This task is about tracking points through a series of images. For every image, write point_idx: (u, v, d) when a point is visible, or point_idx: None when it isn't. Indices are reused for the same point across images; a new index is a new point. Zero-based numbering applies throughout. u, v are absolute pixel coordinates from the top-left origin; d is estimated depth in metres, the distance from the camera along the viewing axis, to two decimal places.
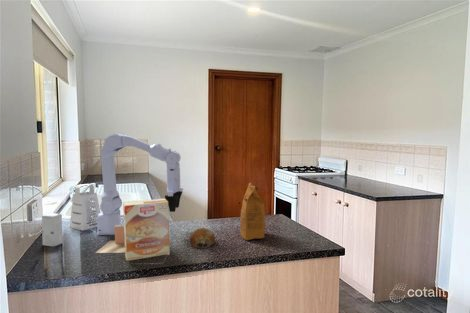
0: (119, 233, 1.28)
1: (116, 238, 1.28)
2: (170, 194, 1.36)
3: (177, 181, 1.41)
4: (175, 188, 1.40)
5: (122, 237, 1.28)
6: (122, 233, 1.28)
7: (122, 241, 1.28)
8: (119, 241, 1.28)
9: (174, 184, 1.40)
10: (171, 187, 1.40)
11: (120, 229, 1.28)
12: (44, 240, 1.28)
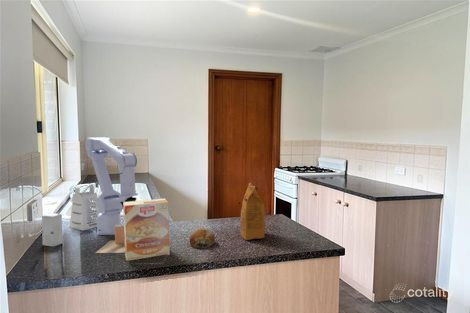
0: (119, 233, 1.28)
1: (116, 238, 1.28)
2: (121, 200, 1.26)
3: (131, 185, 1.31)
4: (128, 193, 1.31)
5: (122, 237, 1.28)
6: (122, 233, 1.28)
7: (122, 241, 1.28)
8: (119, 241, 1.28)
9: (127, 189, 1.31)
10: (124, 192, 1.31)
11: (120, 229, 1.28)
12: (44, 240, 1.28)
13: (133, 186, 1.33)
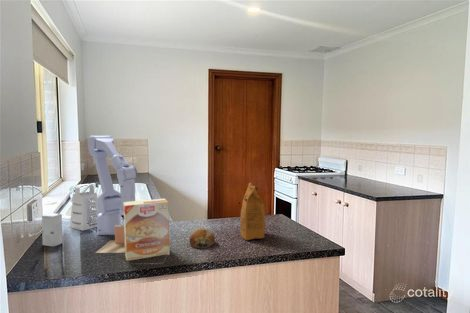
0: (119, 233, 1.28)
1: (116, 238, 1.28)
2: (122, 213, 1.27)
3: (131, 198, 1.32)
4: None
5: (122, 237, 1.28)
6: (122, 233, 1.28)
7: (122, 241, 1.28)
8: (119, 241, 1.28)
9: None
10: None
11: (120, 229, 1.28)
12: (44, 240, 1.28)
13: (133, 199, 1.33)
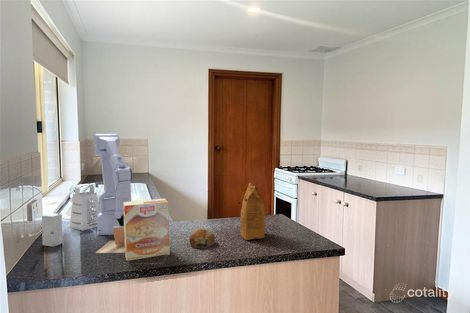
0: (118, 234, 1.27)
1: (116, 239, 1.28)
2: (117, 216, 1.22)
3: (127, 201, 1.27)
4: None
5: (122, 238, 1.27)
6: (121, 234, 1.27)
7: (122, 241, 1.28)
8: (119, 241, 1.28)
9: None
10: (120, 208, 1.26)
11: (119, 230, 1.27)
12: (44, 240, 1.28)
13: (129, 201, 1.28)
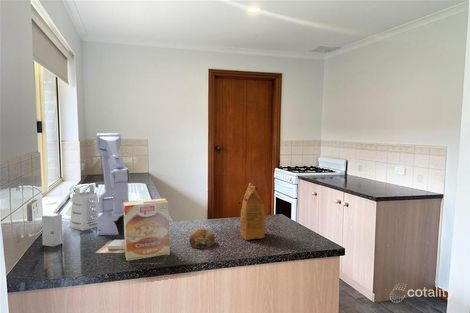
0: None
1: None
2: (114, 218, 1.19)
3: None
4: (121, 211, 1.23)
5: None
6: None
7: None
8: None
9: (120, 206, 1.23)
10: (117, 209, 1.23)
11: None
12: (44, 240, 1.28)
13: None
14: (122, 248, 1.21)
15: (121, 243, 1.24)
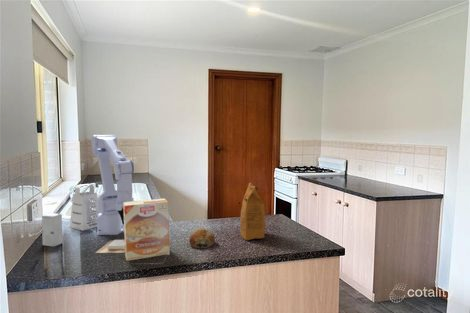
0: None
1: None
2: (118, 208, 1.23)
3: (128, 193, 1.28)
4: (125, 201, 1.28)
5: None
6: None
7: None
8: None
9: (124, 197, 1.28)
10: (121, 200, 1.27)
11: None
12: (44, 240, 1.28)
13: (130, 194, 1.29)
14: (122, 248, 1.21)
15: (121, 243, 1.24)
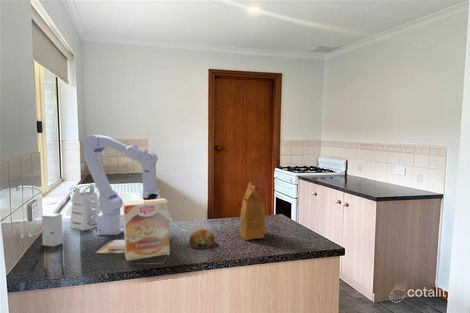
0: None
1: None
2: (145, 196, 1.34)
3: (153, 182, 1.39)
4: (151, 190, 1.38)
5: None
6: None
7: None
8: None
9: (150, 185, 1.38)
10: (147, 189, 1.38)
11: None
12: (44, 240, 1.28)
13: (155, 183, 1.40)
14: (122, 248, 1.21)
15: (121, 243, 1.24)
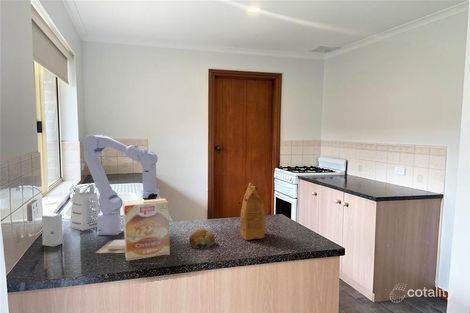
0: None
1: None
2: (145, 196, 1.34)
3: (153, 182, 1.39)
4: (151, 190, 1.38)
5: None
6: None
7: None
8: None
9: (150, 185, 1.38)
10: (147, 189, 1.38)
11: None
12: (44, 240, 1.28)
13: (155, 183, 1.40)
14: (122, 248, 1.21)
15: (121, 243, 1.24)
